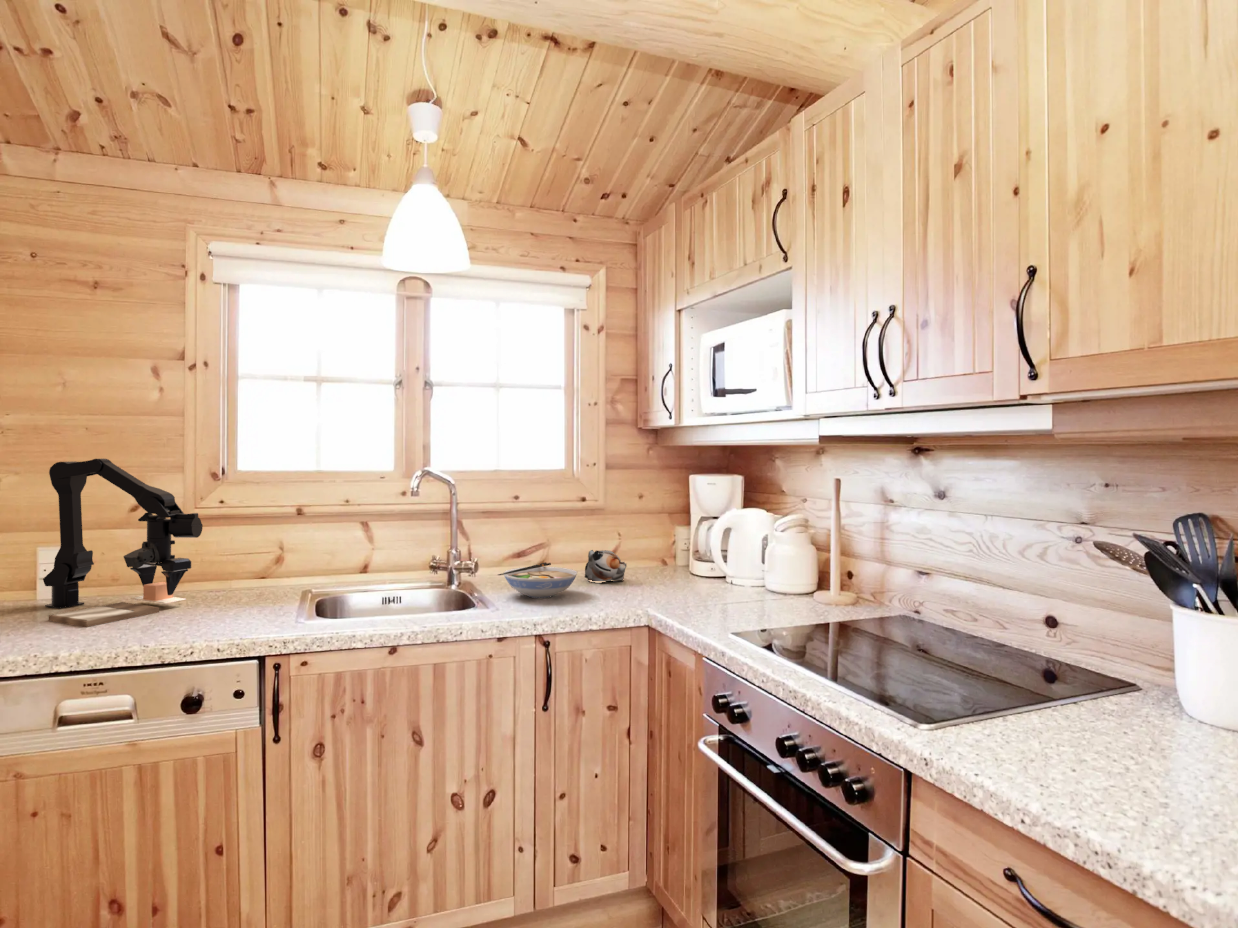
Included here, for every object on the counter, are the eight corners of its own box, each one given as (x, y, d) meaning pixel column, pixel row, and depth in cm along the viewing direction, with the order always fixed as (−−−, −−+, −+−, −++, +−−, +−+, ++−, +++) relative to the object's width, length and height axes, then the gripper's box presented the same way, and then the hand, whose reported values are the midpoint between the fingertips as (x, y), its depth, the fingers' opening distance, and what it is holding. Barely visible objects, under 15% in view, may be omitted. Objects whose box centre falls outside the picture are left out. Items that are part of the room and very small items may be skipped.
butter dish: (130, 598, 196) (130, 583, 196) (152, 594, 202) (152, 580, 202) (165, 603, 191) (165, 587, 191) (186, 599, 197) (186, 584, 197)
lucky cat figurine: (629, 579, 249) (635, 547, 242) (616, 598, 239) (621, 565, 232) (591, 564, 253) (596, 532, 247) (576, 582, 244) (581, 549, 237)
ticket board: (48, 620, 178) (48, 614, 178) (122, 606, 195) (122, 601, 195) (86, 626, 172) (86, 620, 172) (159, 612, 189) (159, 606, 189)
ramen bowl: (545, 608, 201) (545, 579, 201) (484, 598, 213) (485, 571, 213) (593, 594, 222) (594, 568, 222) (536, 585, 234) (536, 561, 234)
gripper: (106, 538, 192) (106, 595, 193) (153, 542, 185) (152, 602, 185) (147, 534, 203) (147, 588, 203) (192, 538, 196) (192, 594, 196)
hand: (158, 593), depth 196 cm, fingers open, 9 cm apart
